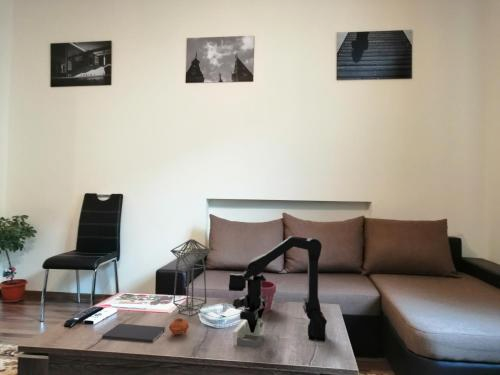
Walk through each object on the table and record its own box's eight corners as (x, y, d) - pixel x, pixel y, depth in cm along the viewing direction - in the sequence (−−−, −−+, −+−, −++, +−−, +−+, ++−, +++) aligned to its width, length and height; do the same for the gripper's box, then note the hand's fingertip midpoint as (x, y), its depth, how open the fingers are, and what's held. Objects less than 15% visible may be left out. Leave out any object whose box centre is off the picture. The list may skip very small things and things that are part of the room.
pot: (192, 330, 142) (191, 315, 140) (184, 342, 135) (183, 327, 133) (175, 327, 144) (174, 313, 143) (165, 339, 137) (164, 324, 135)
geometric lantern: (166, 313, 163) (168, 239, 165) (190, 305, 176) (191, 237, 177) (190, 319, 154) (191, 241, 156) (213, 311, 167) (214, 239, 168)
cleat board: (268, 333, 140) (268, 321, 140) (258, 348, 126) (258, 335, 126) (245, 330, 143) (245, 318, 143) (233, 344, 129) (233, 331, 129)
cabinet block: (263, 331, 139) (263, 318, 139) (260, 336, 134) (260, 323, 134) (249, 329, 141) (249, 317, 141) (245, 334, 136) (245, 321, 136)
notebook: (102, 339, 134) (152, 343, 131) (102, 335, 134) (152, 339, 131) (119, 327, 147) (166, 330, 143) (119, 323, 147) (166, 327, 143)
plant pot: (266, 317, 159) (266, 289, 159) (241, 311, 166) (241, 285, 166) (280, 308, 171) (280, 282, 171) (256, 303, 178) (256, 278, 179)
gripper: (242, 283, 149) (242, 319, 149) (227, 295, 131) (227, 336, 131) (267, 285, 146) (267, 322, 145) (255, 298, 128) (254, 340, 128)
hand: (254, 330), depth 137 cm, fingers closed on cabinet block, 5 cm apart
